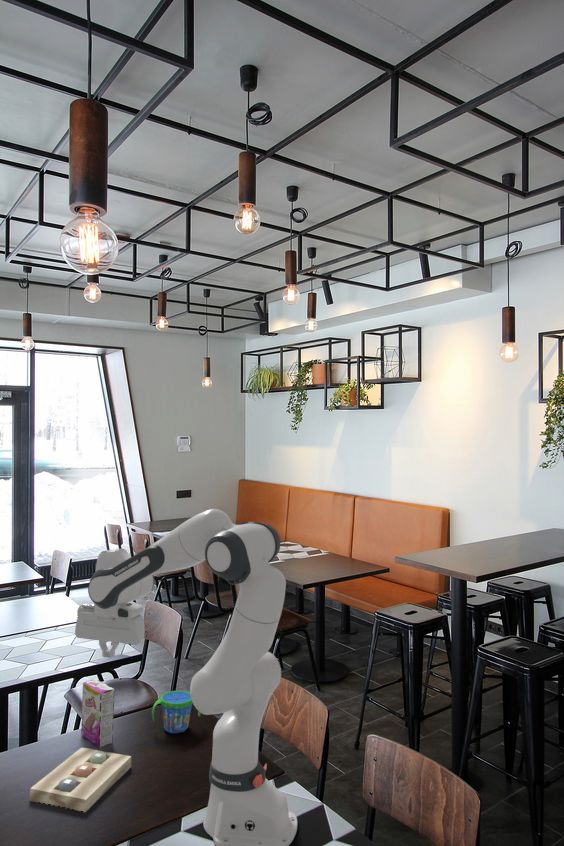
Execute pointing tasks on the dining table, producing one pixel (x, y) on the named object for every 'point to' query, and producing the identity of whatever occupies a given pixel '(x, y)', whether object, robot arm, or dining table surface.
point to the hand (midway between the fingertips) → (108, 656)
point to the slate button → (67, 784)
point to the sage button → (98, 758)
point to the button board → (80, 780)
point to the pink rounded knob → (83, 770)
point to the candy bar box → (97, 712)
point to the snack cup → (175, 710)
